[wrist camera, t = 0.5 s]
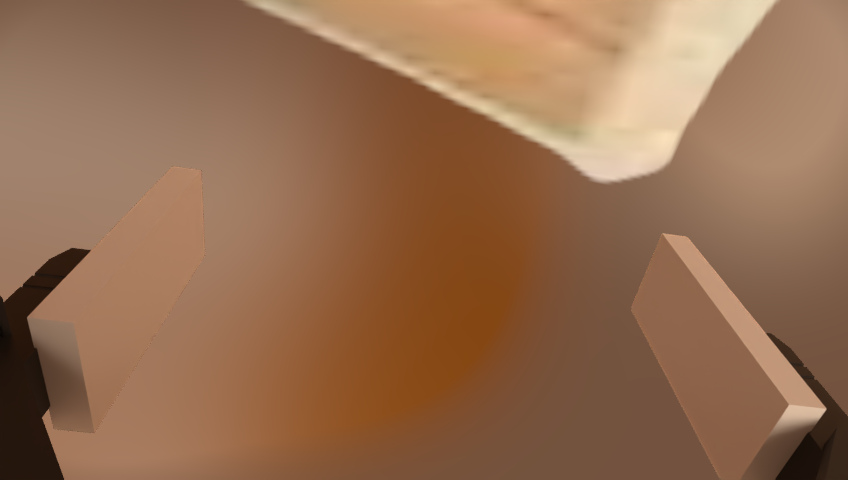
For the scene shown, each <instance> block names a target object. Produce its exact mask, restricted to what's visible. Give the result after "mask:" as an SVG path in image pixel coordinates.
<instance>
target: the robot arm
mask: <svg viewBox="0 0 848 480" xmlns="http://www.w3.org/2000/svg"><path fill="white" fill-rule="evenodd" d="M204 256H205V239H204V216H203V192H202V170H198V169H191V168H184V167H177V166H172V167H171V168H170V169H169V170H168V171H167V173H165V175H164V176H163V177H162V178H161V179H160V180H159V181H158V182H157V183H156V184H155V185H154V186H153V187H152V188H151V189H150V190H149V191H148V192H147V193H146V194H145V195H144V196H143V197H142V199H140V201H139V202H138V203H137V204H136V205H135V206H134V207H133V208H132V209H131V210H130V211H129V212H128V213H127V214H126V215H125V216H124V217H123V218H122V219H121V220H120V221H119V222H118V223H117V224H116V226H114V228H113V229H112V230H111V231H110V232H109V233H108V234H107V235H106V236H105V237H104V238H103V239H102V240H101V241H100V242H99V243H98V244H97V245H96V246H95V247H94V248H93V249H92V250H84V249H76V248H71V249H69V250H67V251H65V252H63V253H61V254H59V255H57V256H55V257H53V258H51V259H49V260H48V261H47V262H46V263H45V264H44V265H43V266H42V267H41V268H40V269H39V270H38V271H37V272H36V273H35V276H31V277H30V278H29V279H28V280H27V281H26V282H25V283H24V284H23V287H20V288H19V289H17V290H16V291H15V292H14V293H13V294H12V295H11V296H10V297H9V298H8V299H7V300H6V301H5V302H3V299H2V297H1V296H0V480H64V478H63V475H62V472H61V469H60V466H59V464H58V461H57V458H56V455H55V453H54V450H53V447H52V444H51V442H50V439H49V436H48V433H47V430H46V428H45V425H44V422H43V419H42V417H43V415H44V414H45V413H46V411H47V410H48V409H49V411H50V415H51V420H52V424H53V428H54V429H57V430H67V431H77V432H88V433H95V432H96V430H97V428H98V427H99V425H100V423H101V422H102V420H103V419H104V417H105V416H106V414H107V412H108V411H109V409H110V407H111V406H112V404H113V403H114V401H115V399H116V398H117V396H118V395H119V393H120V391H121V390H122V388H123V387H124V385H125V383H126V382H127V380H128V378H129V377H130V375H131V374H132V372H133V371H134V369H135V367H136V366H137V364H138V363H139V361H140V359H141V358H142V356H143V354H144V353H145V351H146V350H147V348H148V346H149V345H150V343H151V342H152V340H153V338H154V337H155V335H156V333H157V332H158V330H159V329H160V327H161V325H162V324H163V322H164V321H165V319H166V317H167V316H168V314H169V313H170V311H171V309H172V308H173V306H174V305H175V303H176V301H177V299H178V298H179V297H180V295H181V293H182V292H183V290H184V289H185V287H186V285H187V284H188V282H189V281H190V279H191V277H192V276H193V274H194V272H195V271H196V269H197V268H198V266H199V264H200V263H201V261H202V260H203V258H204ZM631 310H632V312H633V314H634V316H635V318H636V320H637V322H638V324H639V326H640V328H641V329H642V331H643V333H644V335H645V337H646V339H647V341H648V343H649V345H650V347H651V348H652V351H653V352H654V354H655V356H656V358H657V360H658V362H659V364H660V366H661V368H662V370H663V372H664V373H665V375H666V377H667V379H668V381H669V383H670V385H671V387H672V388H673V391H674V392H675V394H676V396H677V398H678V400H679V402H680V404H681V406H682V408H683V409H684V412H685V414H686V415H687V417H688V419H689V421H690V423H691V425H692V427H693V429H694V431H695V433H696V435H697V436H698V438H699V440H700V442H701V444H702V446H703V448H704V450H705V452H706V453H707V455H708V457H709V459H710V461H711V463H712V465H713V467H714V469H715V471H716V473H717V475H718V476H719V479H720V480H848V416H847V415H846V414H845V413H844V412H843V411H842V409H841V408H840V407H839V406H838V404H837V403H836V402H835V401H834V400H833V399H832V397H831V396H830V395H829V394H828V392H827V391H826V390H825V389H824V388H823V387H822V385H821V384H820V383H819V382H818V381H817V380H814V376H813V375H812V373H811V372H810V371H809V370H808V369H807V367H803V365H804V364H803V363H802V361H801V360H800V359H799V358H798V357H797V356H796V355H795V353H794V352H793V351H792V350H791V348H789V347H788V346H787V345H785V344H784V343H783V342H781V341H780V340H779V339H777V338H776V337H775V336H774V335H772V334H769V333H765V332H764V331H763V330H762V328H761V327H760V326H759V325H758V323H757V322H756V321H755V320H754V319H753V317H752V316H751V315H750V314H749V312H748V311H747V310H746V309H745V307H744V306H743V305H742V304H741V303H740V301H739V300H738V299H737V298H736V296H735V295H734V294H733V293H732V292H731V290H730V289H729V288H728V286H727V285H726V284H725V283H724V282H723V280H722V279H721V278H720V277H719V275H718V274H717V273H716V272H715V270H714V269H713V268H712V267H711V265H710V264H709V263H708V262H707V261H706V259H705V258H704V257H703V256H702V255H701V253H700V252H699V251H698V250H697V248H696V247H695V246H694V245H693V243H692V242H691V241H690V240H689V238H688V237H686V236H677V235H671V234H664V233H662V235H661V237H660V240H659V242H658V245H657V247H656V249H655V252H654V254H653V256H652V259H651V262H650V264H649V266H648V268H647V271H646V273H645V276H644V278H643V280H642V283H641V285H640V288H639V290H638V292H637V295H636V297H635V300H634V302H633V304H632V307H631Z"/></svg>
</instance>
